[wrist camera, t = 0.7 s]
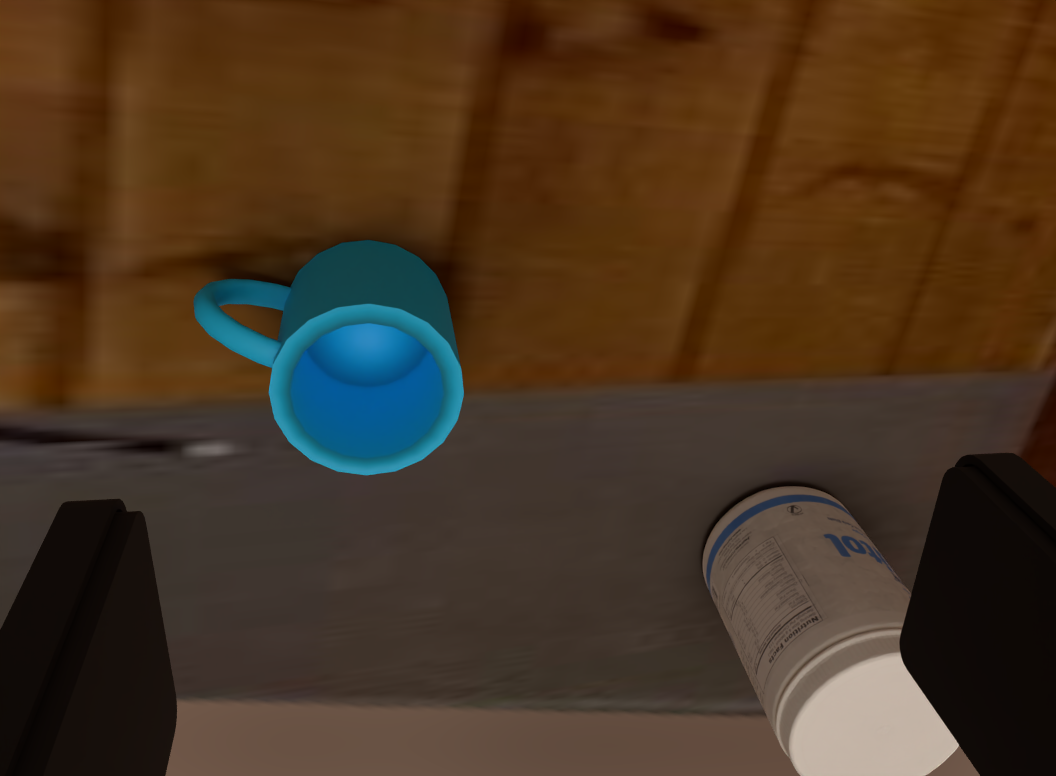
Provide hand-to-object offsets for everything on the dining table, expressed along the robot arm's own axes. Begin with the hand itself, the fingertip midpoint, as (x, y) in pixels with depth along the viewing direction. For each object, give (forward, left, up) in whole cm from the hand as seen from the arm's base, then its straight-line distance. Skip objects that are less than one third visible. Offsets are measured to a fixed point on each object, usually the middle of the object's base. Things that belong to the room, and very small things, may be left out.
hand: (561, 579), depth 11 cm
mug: (+3, -12, -37) cm, 39 cm away
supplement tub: (+33, -10, -37) cm, 50 cm away
